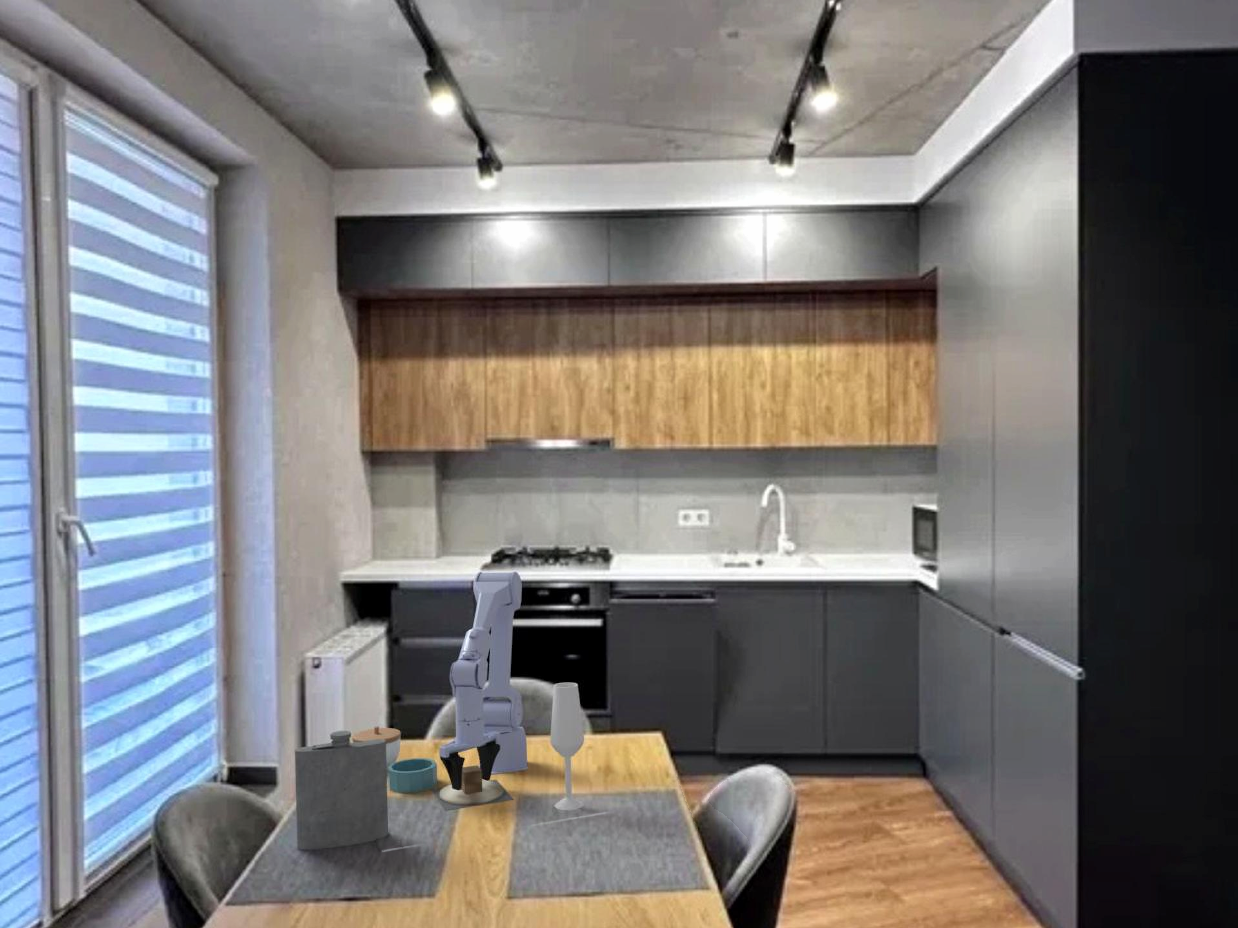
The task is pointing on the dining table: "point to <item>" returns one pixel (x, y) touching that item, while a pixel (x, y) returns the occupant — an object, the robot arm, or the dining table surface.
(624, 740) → the dining table surface
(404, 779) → the bowl
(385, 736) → the lidded jar
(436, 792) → the mat
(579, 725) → the champagne flute
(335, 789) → the hip flask
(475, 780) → the lid
